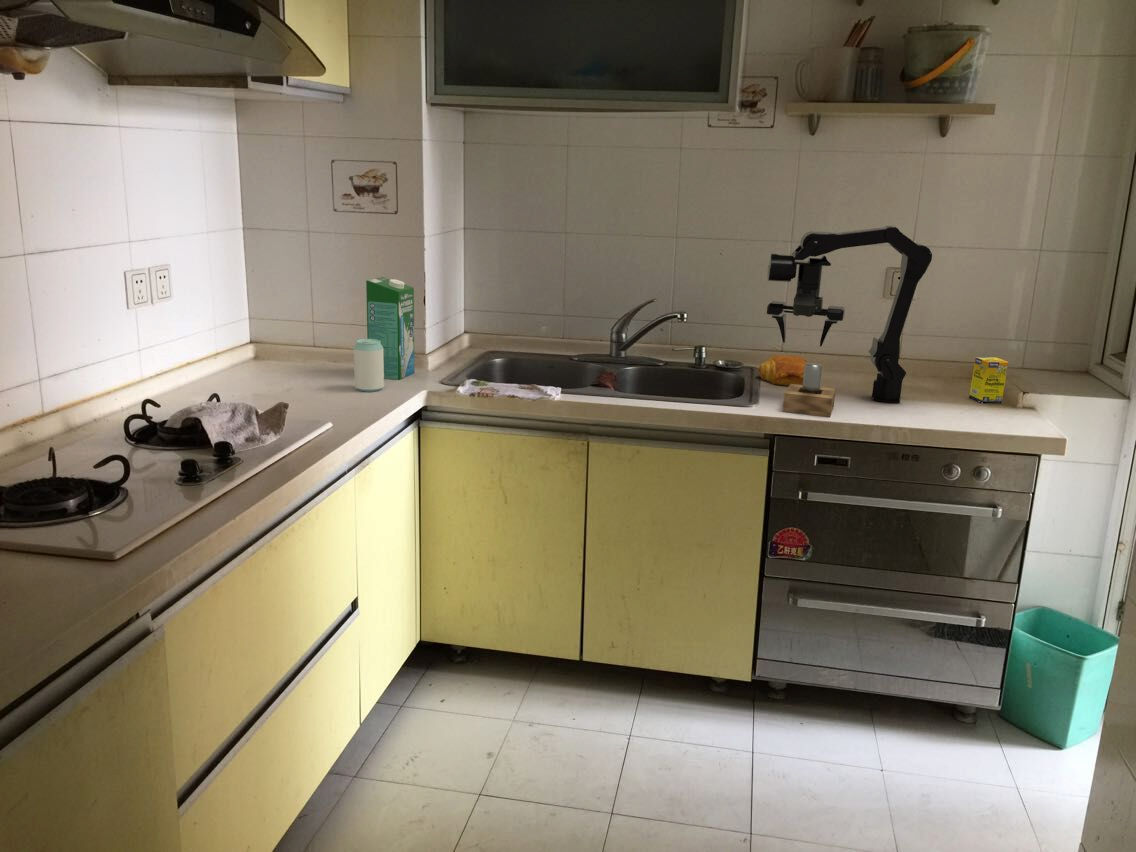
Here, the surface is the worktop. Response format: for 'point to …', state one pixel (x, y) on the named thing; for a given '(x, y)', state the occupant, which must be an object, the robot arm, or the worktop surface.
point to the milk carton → (392, 324)
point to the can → (368, 365)
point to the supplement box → (988, 379)
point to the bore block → (809, 401)
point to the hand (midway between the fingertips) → (802, 344)
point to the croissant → (783, 370)
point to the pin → (812, 378)
